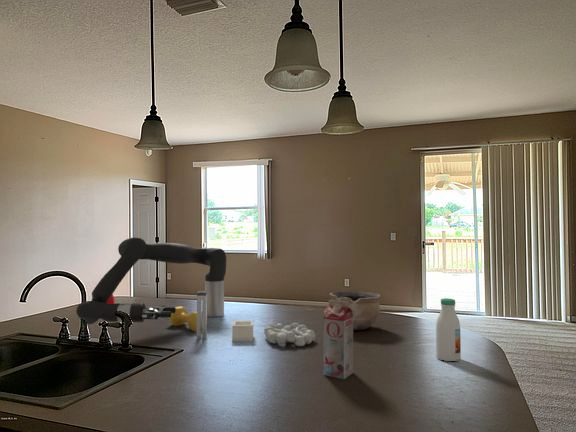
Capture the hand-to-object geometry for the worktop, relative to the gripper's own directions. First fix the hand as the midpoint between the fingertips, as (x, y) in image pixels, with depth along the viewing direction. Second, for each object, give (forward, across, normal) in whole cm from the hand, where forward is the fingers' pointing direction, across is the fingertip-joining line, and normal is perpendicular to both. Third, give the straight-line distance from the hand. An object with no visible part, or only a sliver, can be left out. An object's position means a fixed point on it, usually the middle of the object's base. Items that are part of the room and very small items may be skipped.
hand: (173, 312), depth 170 cm
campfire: (+46, -5, +11) cm, 47 cm away
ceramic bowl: (+76, +13, +10) cm, 77 cm away
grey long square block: (+11, 0, +10) cm, 15 cm away
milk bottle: (+98, -31, +10) cm, 103 cm away
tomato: (-46, +55, +11) cm, 73 cm away
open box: (+28, -2, +10) cm, 29 cm away
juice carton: (+58, -44, +10) cm, 73 cm away
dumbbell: (+3, +18, +11) cm, 21 cm away
